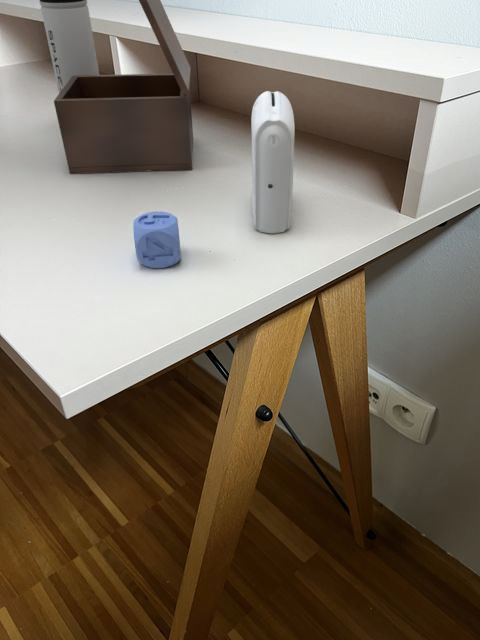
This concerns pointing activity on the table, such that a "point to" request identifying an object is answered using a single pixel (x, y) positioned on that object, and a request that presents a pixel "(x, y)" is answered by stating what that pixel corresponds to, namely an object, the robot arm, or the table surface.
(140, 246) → the decorative dice
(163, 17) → the lid
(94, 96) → the storage box
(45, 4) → the travel mug
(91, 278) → the table surface
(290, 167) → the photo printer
